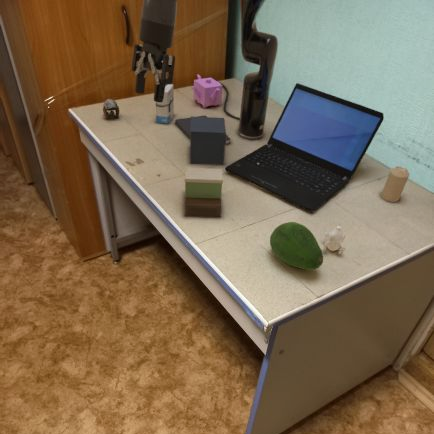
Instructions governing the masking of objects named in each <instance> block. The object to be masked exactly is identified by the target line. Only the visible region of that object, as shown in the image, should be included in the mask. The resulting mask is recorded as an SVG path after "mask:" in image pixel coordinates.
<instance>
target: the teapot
mask: <svg viewBox="0 0 434 434" xmlns="http://www.w3.org/2000/svg"><path fill="white" fill-rule="evenodd" d="M196 76H197V79H194V80H193V86H192V87H191V89H192V91H193V99H194V100H196V103H197V104H201V106H202V108H204V109H207V108H208V107H209V106H210V107H211V106H213V107H217V106H218V105H221V104H222V100H223V99H222V98H223V86H222V85H221V84H220V83H221V82H220V81H218V80H217V81H218V82H217V81H215V80H216V79H215V78H214V79H215V80H214V79H212V78H211V77H205V78H202V76H201V75H200V74H196ZM219 82H220V83H219Z"/></svg>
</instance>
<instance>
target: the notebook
mask: <svg viewBox="0 0 434 434" xmlns="http://www.w3.org/2000/svg"><path fill="white" fill-rule="evenodd" d="M191 117H192V116H190V117H184V118H177V119H176V118H175V119H174V124H175V125H176V126H177V127H178V128H179V129H180V131H181V132H182V133H183V134H184V135H185V136H186V137H187V138H188V139H189V140H190V129H191ZM196 117H208V116H207V115H199V116H196ZM229 144H231V138H230V137H229V135H227V134H226V139H225V145H229Z"/></svg>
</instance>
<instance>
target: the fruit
mask: <svg viewBox="0 0 434 434" xmlns="http://www.w3.org/2000/svg"><path fill="white" fill-rule="evenodd" d="M269 244H270V248H271V251H272V253H273V254H274V255H275V256H276V257H277V258H278V259H279V260H281V261H282V262H283V263H284V264H286V265H289V266H292V267H294V268H295V267H296V268H299V269H303V270H308V271H309V270H310V271H311V270H317V269H319V268H320V267H321V266H322V265H323V262H324V254H323V251H322V249H321V247H320V245H319V243H318V241H317V238H316V237H315V236H314V233H312V232H311V230H310V229H309V228H308V227H307V226H306V225H303V224H301V223H300V222H299V223H298V222H296V221H289V222H284V223H281V224H279V225H278V226H277V227H275V228H274V229H273V231H272V233H271V235H270V236H269Z"/></svg>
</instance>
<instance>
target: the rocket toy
mask: <svg viewBox="0 0 434 434" xmlns="http://www.w3.org/2000/svg"><path fill="white" fill-rule="evenodd" d="M345 238H346V234H344V232H343V230H342V227H341V224H339V225H337V226H336V227H335V228H333V229H332V230H331V231H329V232H327V231H324V243H323V251H324V252H326V248H327V250H329V251H330V252H335V251H337V250H339V249H340V250H339V253H338V255H340V254H342V253H343V251H345V249H346V246H344V245H343V243H344V239H345Z"/></svg>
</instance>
